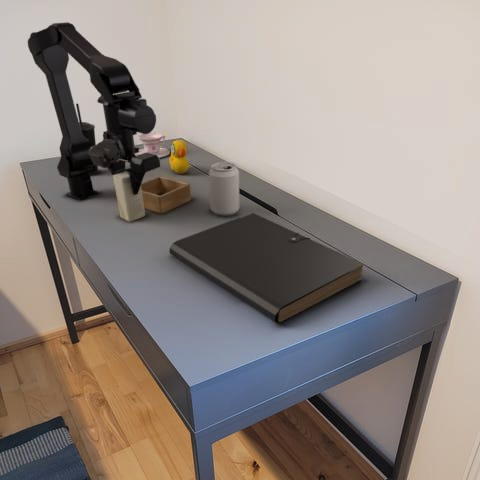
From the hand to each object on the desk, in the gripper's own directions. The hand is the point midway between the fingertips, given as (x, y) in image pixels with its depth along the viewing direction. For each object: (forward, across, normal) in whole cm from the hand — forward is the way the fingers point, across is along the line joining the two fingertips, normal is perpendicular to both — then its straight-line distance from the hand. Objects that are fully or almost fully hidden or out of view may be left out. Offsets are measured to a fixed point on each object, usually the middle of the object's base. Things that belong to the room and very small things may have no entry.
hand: (128, 192), depth 119 cm
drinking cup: (+6, -36, +16) cm, 40 cm away
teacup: (+7, -34, +41) cm, 54 cm away
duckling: (+7, -13, +32) cm, 36 cm away
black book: (+7, +42, -3) cm, 43 cm away
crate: (+6, -1, +12) cm, 13 cm away
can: (+7, +17, +16) cm, 25 cm away
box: (+7, 0, 0) cm, 7 cm away
